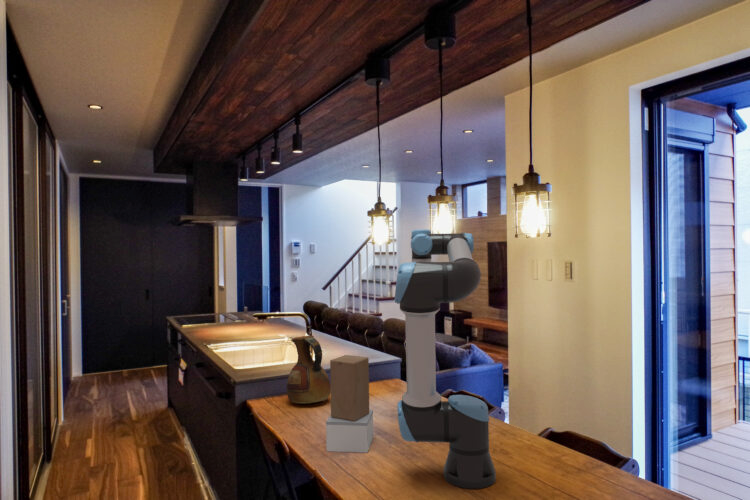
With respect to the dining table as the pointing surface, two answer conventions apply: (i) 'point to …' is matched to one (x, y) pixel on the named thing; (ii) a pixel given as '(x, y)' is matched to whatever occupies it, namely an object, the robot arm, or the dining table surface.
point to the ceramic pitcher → (308, 374)
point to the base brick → (349, 434)
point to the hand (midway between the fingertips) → (422, 326)
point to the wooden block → (349, 387)
